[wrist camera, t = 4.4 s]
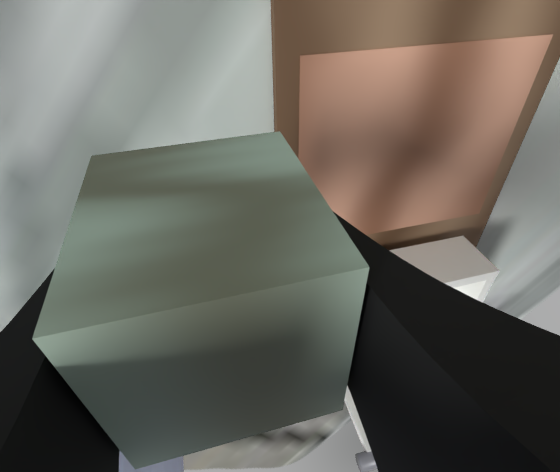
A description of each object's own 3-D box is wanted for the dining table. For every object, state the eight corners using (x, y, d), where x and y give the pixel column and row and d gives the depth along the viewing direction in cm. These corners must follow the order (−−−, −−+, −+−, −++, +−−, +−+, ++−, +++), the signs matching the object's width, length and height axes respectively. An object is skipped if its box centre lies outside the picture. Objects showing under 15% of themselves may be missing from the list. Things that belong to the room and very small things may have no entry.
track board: (280, 354, 28) (282, 360, 27) (269, -51, 12) (272, -51, 12) (440, 315, 30) (444, 320, 30) (599, -59, 15) (612, -60, 14)
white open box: (314, 351, 27) (361, 476, 21) (321, 258, 21) (392, 394, 15) (422, 325, 29) (496, 432, 22) (458, 231, 23) (575, 342, 16)
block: (143, 288, 11) (134, 469, 7) (91, 155, 8) (31, 338, 4) (283, 260, 12) (341, 410, 8) (280, 131, 9) (369, 266, 5)
